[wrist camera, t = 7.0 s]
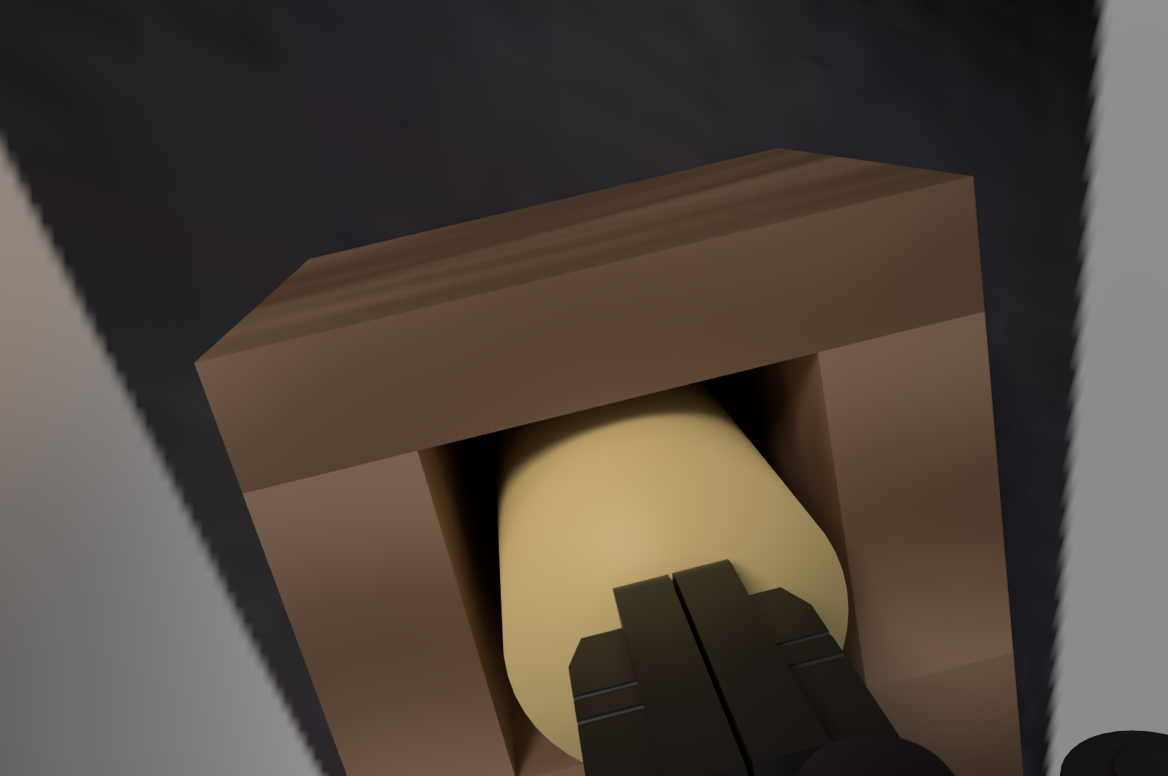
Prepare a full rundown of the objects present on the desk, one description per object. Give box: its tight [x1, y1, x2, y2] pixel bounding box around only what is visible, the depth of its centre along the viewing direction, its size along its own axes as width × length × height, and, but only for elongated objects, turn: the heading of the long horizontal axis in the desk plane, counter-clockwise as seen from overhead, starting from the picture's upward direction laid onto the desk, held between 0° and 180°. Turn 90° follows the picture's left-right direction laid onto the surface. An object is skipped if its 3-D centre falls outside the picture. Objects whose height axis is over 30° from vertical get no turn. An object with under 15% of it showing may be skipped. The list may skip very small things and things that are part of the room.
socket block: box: [195, 148, 1024, 776], centre depth 18 cm, size 18×10×8 cm, turn 12°
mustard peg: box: [494, 381, 848, 762], centre depth 15 cm, size 4×4×8 cm
